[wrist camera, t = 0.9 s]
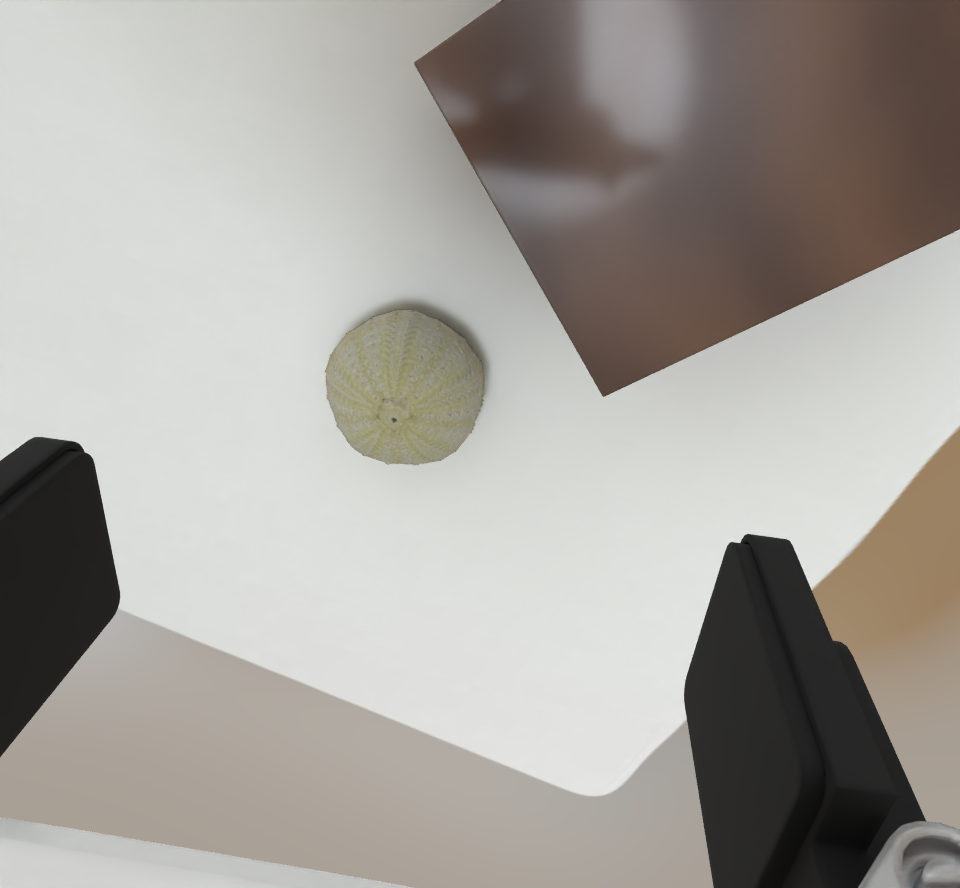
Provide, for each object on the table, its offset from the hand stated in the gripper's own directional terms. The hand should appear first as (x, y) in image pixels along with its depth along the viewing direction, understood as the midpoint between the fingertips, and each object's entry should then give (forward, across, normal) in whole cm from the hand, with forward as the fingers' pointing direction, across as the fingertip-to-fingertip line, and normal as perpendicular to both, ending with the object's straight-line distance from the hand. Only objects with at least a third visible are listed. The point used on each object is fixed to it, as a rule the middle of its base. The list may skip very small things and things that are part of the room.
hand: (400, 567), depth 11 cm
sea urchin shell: (+32, +6, +11) cm, 34 cm away
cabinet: (+31, -7, -5) cm, 32 cm away
